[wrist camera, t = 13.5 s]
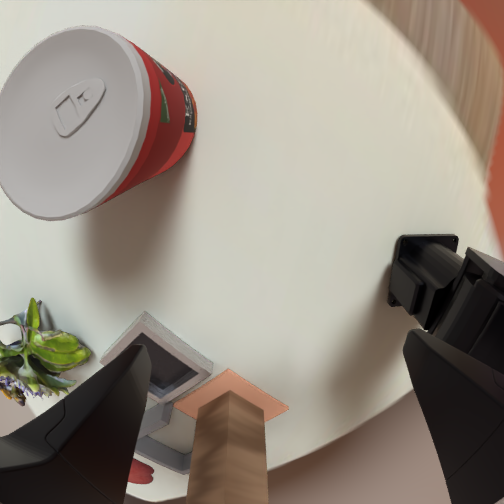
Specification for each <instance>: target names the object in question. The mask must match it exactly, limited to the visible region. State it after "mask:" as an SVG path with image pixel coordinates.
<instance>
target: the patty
mask: <svg viewBox="0 0 504 504" xmlns="http://www.w3.org/2000/svg"><path fill="white" fill-rule="evenodd" d="M153 473H154V469H153V468H152V467H150V466H149V465H147V464H144V463H142V462H140V461H138V460H136V459H134V458H133V460H132V465H131V469H130V474H129V478H128V482H131V483H135V484H148V483H151V482H152V481H153V477H152V476H151V474H153Z"/></svg>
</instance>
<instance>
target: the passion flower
mask: <svg viewBox="0 0 504 504" xmlns="http://www.w3.org/2000/svg"><path fill="white" fill-rule="evenodd" d="M41 302H42V301H41V300H40V301H38V302H37V303H36V301H35V299H34V298H31V300H30V303H29V307H28V308H27V309H26V310H25V311H23V312H22V313H20V314H17V315H14V316H13V317H12V318H10V319H9V320H5V321H1V322H0V325H4V324H8V323H12V324H16V325H18V326H19V327H20V328H21V333H22V340H18V341H16V342H14V343H12V344H10V345H7V346H6V345H4V344H3V343H2V342H1V341H0V381H2V380H5V383H1V382H0V390H1V391H2V392H3V393H4V395H5V396H6V397H7V398H8V399H12V398H14V399H15V400H16V402H17V403H19V404H20V405H21V406H24V405H25V399H26V397H25V396H24V394H23V393H24V391H26V393H27V390H28V391H29V392H30V393H31V394H32V395H34V396H35V397H36V396H37V395H39V396H40V397H41V398H42V395H43V394H44V395H46V396H47V397H48V398H49V396H51V395H52V392H53V393H54V394H55V395H57V396H59V391H63V392H64V393H65V394H67V395H68V394H69V392H68V390H67V388H66V387H71V386H73V385H75V383H76V380H74V381H72V380H66V379H65V378H64V379H62V378H58V377H59V375H60V372H62V371H63V372H64V371H66V370H70V369H72V368H74V367H76V366H77V365H83V364H84V363H86V362H87V361H88V358H89V356H90V355H91V352H90V350H89V349H88V348H87V347H85V346H82V345H81V344H80V343H79V340H78V339H77V338H76V337H75V336H73V335H71V334H69V333H66V332H62V331H61V330H58V331H39V330H38V329H37V328H38V327H39V324H40V323H39V319H40V316H39V311H38V307H37V305H38V304H39V303H41ZM24 326H25V328H26V331H25V329H24ZM12 382H13V385H12V386H11V385H9V384H10V383H12ZM16 386H18V387H19V388H18V387H16ZM58 390H59V391H58ZM18 395H19V396H20V397H19V396H18ZM27 396H28V393H27ZM33 398H34V397H33ZM42 399H43V398H42Z"/></svg>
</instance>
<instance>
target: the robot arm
mask: <svg viewBox="0 0 504 504" xmlns="http://www.w3.org/2000/svg"><path fill="white" fill-rule="evenodd" d="M405 239H406V241H405V243H403V241H404V240H405ZM453 239H454V241H453ZM458 241H459V239H458V236H456V235H455V234H419V235H402V236H400V238H399V240H398V245H397V252H396V258H395V261H394V263H393V268H392V274H391V279H390V284H389V289H390V290H389V295H388V300H387V302H388V304H389V305H390V306H391V307H395V306H403V307H404V308H405V310H406V311H407V312H408V314H409V315H410V316H411V315H414V317H415V318H416V319H417V321H418V322H419V323H420V325H421V326H422V327H423V329H424V330H428V332H425V331H424V330H422V329H413V330H410V331H409V332H408V335H407V338H406V341H405V344H404V347H403V355H404V358H405V361H406V364H407V368H408V371H409V375H410V378H411V382H412V385H413V388H414V391H415V393H416V395H417V398H418V401H419V404H420V406H421V409H422V411H423V414H424V417H425V419H426V422H427V425H428V428H429V431H430V433H431V436H432V439H433V442H434V445H435V448H436V451H437V454H438V457H439V460H440V463H441V467H442V470H443V474H444V477H445V480H446V485H447V488H448V492H449V496H450V499H451V503H452V504H504V263H503V262H502V261H500V260H498V259H496V258H493V257H491V256H489V255H487V254H484V253H482V252H480V251H477V250H475V249H472V248H470V247H468V248H467V250H466V253H465V254H466V256H465V259H463V258H462V257H460V256H459V255H458V254H456V251H457V246H458ZM394 299H395V300H394ZM393 300H394V301H393ZM392 301H393V302H392ZM150 375H151V361H150V358H149V355H148V352H147V348H146V346H145V345H143V344H133V345H131V346H130V347H129V348H127V349H126V350H125V351H124V352H122V353H121V354H120V355H118V356H117V357H116V358H115V359H113V360H112V361H111V362H109V363H108V364H107V365H106V366H104V367H103V368H102V369H100V370H99V371H98V372H96V373H95V374H94V375H93V376H91V377H90V378H89V379H87V380H86V381H85V382H84V383H82V384H81V385H80V386H78V387H77V388H76V389H75V390H73V391H72V392H71V393H69V394H68V395H67V396H66V397H64V399H62V400H60V401H59V402H58V403H56V404H55V405H54V406H52V407H51V408H50V409H48V410H47V411H46V412H44V413H43V414H41V415H39V416H38V417H36V418H35V419H33V420H32V421H30V422H29V423H27V424H25V425H24V426H22V427H20V428H19V429H17V430H16V431H14V432H12V433H10V434H9V435H6V436H3V437H0V504H123V503H124V497H125V493H126V488H127V483H128V478H129V474H130V469H131V465H132V460H133V456H134V452H135V447H136V443H137V439H138V435H139V431H140V427H141V423H142V419H143V415H144V412H145V407H146V402H147V395H148V388H149V381H150Z"/></svg>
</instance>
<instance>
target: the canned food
mask: <svg viewBox="0 0 504 504" xmlns="http://www.w3.org/2000/svg"><path fill="white" fill-rule="evenodd" d="M196 126H197V108H196V103H195V100H194V98H193V95H192V93H191V91H190V90H189V88H188V87H187V86H186V84H185V83H183V82H182V81H181V80H180V79H179V78H178V77H177V76H175V75H174V74H173V73H171V72H170V71H169V70H168V69H166V68H165V67H164V66H163V65H161V64H160V63H159V62H157V61H156V60H155V59H154V58H152V57H151V56H150V55H148V54H147V53H146V52H144V51H143V50H142V49H140V48H139V47H137V46H136V45H135V44H133V43H132V42H130V41H128V40H127V39H125V38H124V37H122V36H121V35H119V34H117V33H114V32H112V31H109V30H107V29H103V28H101V27H97V26H85V25H82V26H76V27H70V28H66V29H63V30H61V31H58V32H56V33H53V34H51V35H50V36H48V37H46V38H45V39H43V40H42V41H40V42H39V43H37V44H36V45H35V46H34V47H33V48H32V49H31V50H29V51H28V52H27V53H26V54H25V55H24V56H23V57H22V59H21V60H20V61H19V62H18V64H17V65H16V66H15V67H14V69H13V70H12V72H11V73H10V75H9V77H8V78H7V80H6V82H5V84H4V86H3V88H2V90H1V93H0V185H1V187H2V189H3V191H4V193H5V194H6V195H7V197H8V198H9V199H10V200H11V202H12V203H13V204H14V205H15V206H16V207H18V208H19V209H20V210H21V211H23V212H24V213H26V214H28V215H30V216H32V217H34V218H36V219H41V220H46V221H58V220H65V219H68V218H72V217H75V216H78V215H80V214H84V213H86V212H88V211H90V210H91V209H93V208H95V207H98V206H99V205H101V204H103V203H105V202H107V201H108V200H110V199H112V198H114V197H116V196H118V195H119V194H121V193H123V192H125V191H127V190H129V189H131V188H132V187H134V186H136V185H138V184H140V183H142V182H144V181H146V180H148V179H150V178H152V177H154V176H156V175H158V174H160V173H162V172H164V171H166V170H167V169H169V168H170V167H171V166H173V165H174V164H175V163H176V162H177V161H178V160H179V159H180V158H181V157H182V156H183V155H184V153H185V152H186V150H187V149H188V147H189V146H190V144H191V141H192V139H193V137H194V134H195V130H196Z"/></svg>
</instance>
